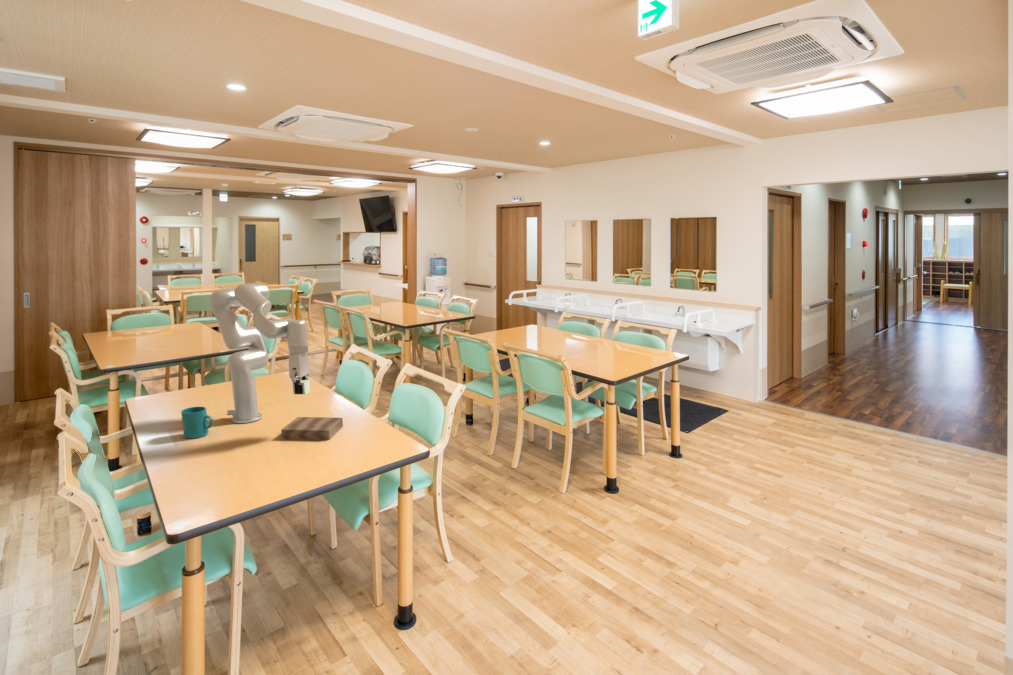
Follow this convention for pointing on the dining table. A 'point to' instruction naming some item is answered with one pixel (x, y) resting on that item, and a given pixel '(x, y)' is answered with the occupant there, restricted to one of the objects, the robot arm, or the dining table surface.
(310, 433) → the walnut plinth
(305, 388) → the sage cube
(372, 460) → the dining table surface
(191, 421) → the cup
